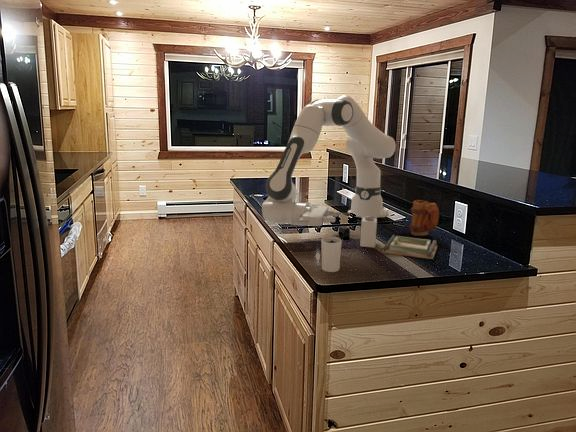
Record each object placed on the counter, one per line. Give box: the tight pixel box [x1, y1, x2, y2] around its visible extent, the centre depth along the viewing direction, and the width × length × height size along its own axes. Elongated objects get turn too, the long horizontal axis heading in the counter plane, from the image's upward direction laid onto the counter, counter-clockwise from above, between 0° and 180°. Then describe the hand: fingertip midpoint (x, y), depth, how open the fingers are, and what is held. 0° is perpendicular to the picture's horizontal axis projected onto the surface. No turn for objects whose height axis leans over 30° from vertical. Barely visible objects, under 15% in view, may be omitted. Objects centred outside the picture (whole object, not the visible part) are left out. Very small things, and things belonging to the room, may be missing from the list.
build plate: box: [332, 225, 356, 241], centre depth 190 cm, size 12×7×5 cm, turn 24°
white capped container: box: [359, 216, 378, 248], centre depth 179 cm, size 6×6×11 cm
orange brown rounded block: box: [408, 199, 440, 237], centre depth 189 cm, size 15×8×15 cm, turn 22°
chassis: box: [381, 234, 438, 260], centre depth 174 cm, size 17×18×3 cm
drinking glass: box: [320, 236, 343, 273], centre depth 153 cm, size 7×7×10 cm
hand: (336, 216), depth 180 cm, fingers open, 8 cm apart
